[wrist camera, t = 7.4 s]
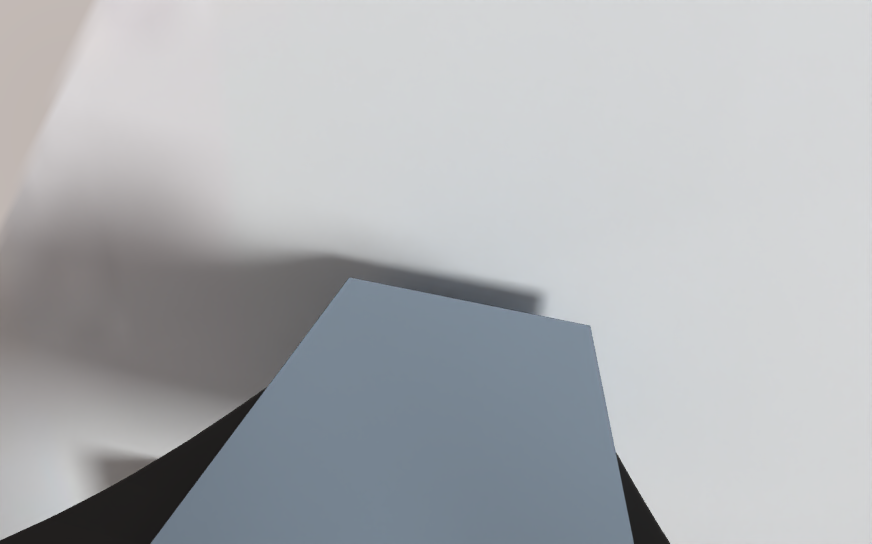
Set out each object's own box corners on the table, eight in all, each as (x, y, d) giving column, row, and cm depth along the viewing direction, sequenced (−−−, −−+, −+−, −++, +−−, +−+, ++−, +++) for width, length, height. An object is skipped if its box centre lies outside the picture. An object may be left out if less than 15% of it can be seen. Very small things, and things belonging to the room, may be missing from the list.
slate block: (590, 326, 10) (684, 798, 4) (535, 498, 12) (539, 976, 6) (349, 277, 11) (85, 630, 4) (338, 451, 13) (154, 852, 7)
